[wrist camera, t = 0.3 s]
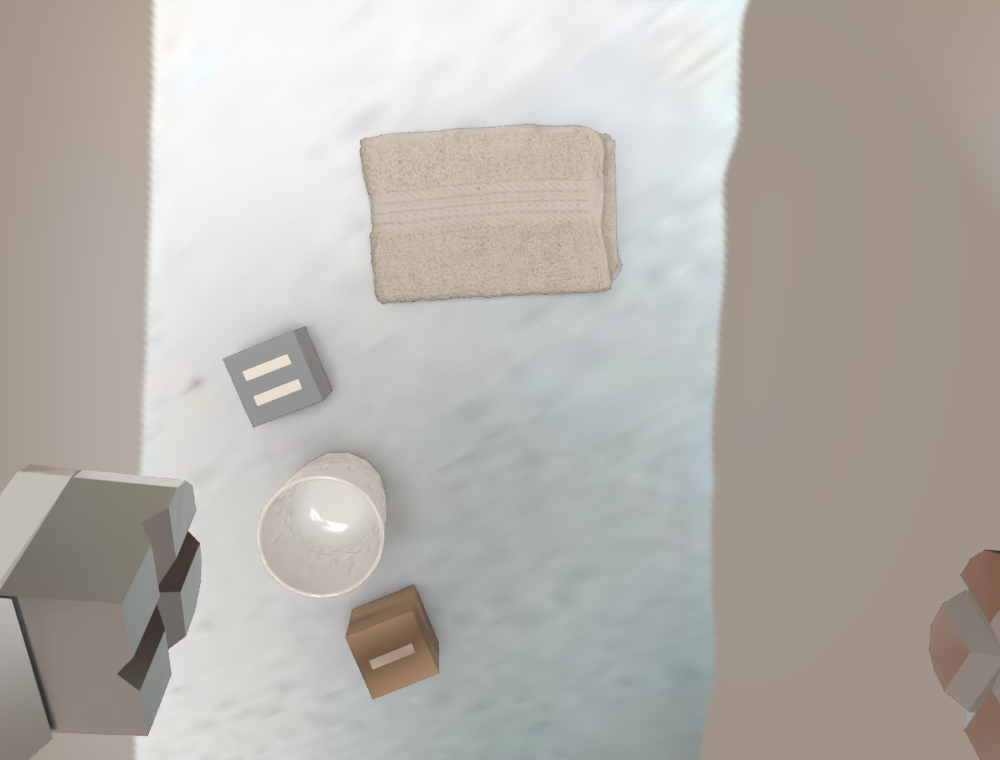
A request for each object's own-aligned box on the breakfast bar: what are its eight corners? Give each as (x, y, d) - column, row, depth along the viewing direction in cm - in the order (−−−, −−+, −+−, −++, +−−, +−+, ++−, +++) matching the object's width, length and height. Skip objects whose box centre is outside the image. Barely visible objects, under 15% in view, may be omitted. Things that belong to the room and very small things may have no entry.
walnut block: (438, 642, 64) (438, 674, 59) (378, 666, 64) (372, 701, 59) (414, 584, 63) (412, 611, 58) (352, 609, 63) (345, 638, 58)
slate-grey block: (332, 390, 61) (322, 400, 56) (268, 415, 61) (252, 428, 56) (305, 326, 60) (292, 331, 55) (240, 352, 60) (221, 359, 55)
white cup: (318, 565, 62) (295, 620, 52) (266, 474, 61) (232, 513, 51) (412, 516, 62) (406, 561, 52) (361, 424, 61) (345, 453, 51)
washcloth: (618, 289, 62) (627, 290, 59) (375, 308, 61) (372, 309, 58) (609, 125, 60) (618, 117, 57) (360, 140, 59) (356, 133, 56)
